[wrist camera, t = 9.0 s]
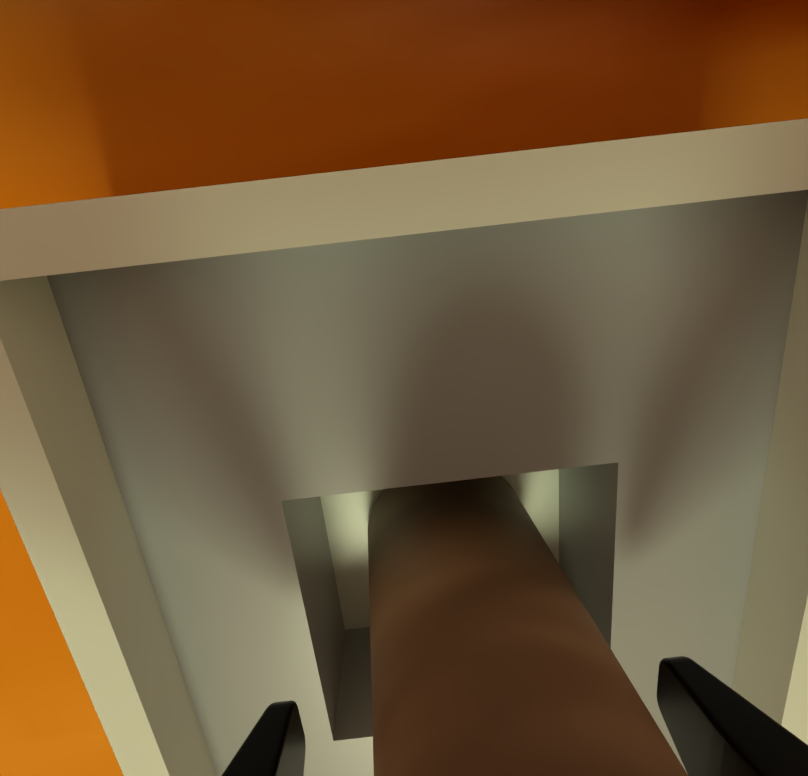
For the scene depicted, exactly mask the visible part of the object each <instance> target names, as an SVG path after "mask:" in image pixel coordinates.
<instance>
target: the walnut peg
mask: <svg viewBox="0 0 808 776" xmlns="http://www.w3.org/2000/svg"><path fill="white" fill-rule="evenodd" d="M368 567H369V606H370V645H371V685H372V724H373V764H374V776H688V774H687V773H686V771H685V770H684V768H683V766H682V765H681V763H680V761H679V760H678V758H677V756H676V755H675V753H674V752H673V750H672V748H671V747H670V745H669V743H668V742H667V740H666V738H665V737H664V735H663V734H662V732H661V730H660V729H659V727H658V725H657V724H656V722H655V720H654V719H653V717H652V716H651V714H650V712H649V711H648V709H647V707H646V706H645V704H644V702H643V701H642V699H641V698H640V696H639V694H638V693H637V691H636V689H635V688H634V686H633V684H632V683H631V681H630V680H629V678H628V676H627V675H626V673H625V671H624V670H623V668H622V666H621V665H620V663H619V662H618V660H617V658H616V657H615V655H614V653H613V652H612V650H611V648H610V647H609V645H608V644H607V642H606V640H605V639H604V637H603V635H602V634H601V632H600V630H599V629H598V627H597V626H596V624H595V622H594V621H593V619H592V617H591V616H590V614H589V612H588V611H587V609H586V608H585V606H584V604H583V603H582V601H581V599H580V598H579V596H578V594H577V593H576V591H575V590H574V588H573V586H572V585H571V583H570V581H569V580H568V578H567V576H566V575H565V573H564V572H563V570H562V568H561V567H560V565H559V563H558V562H557V560H556V559H555V557H554V555H553V554H552V552H551V550H550V549H549V547H548V545H547V544H546V542H545V541H544V539H543V537H542V536H541V534H540V532H539V531H538V529H537V527H536V526H535V524H534V523H533V521H532V519H531V518H530V516H529V514H528V513H527V511H526V509H525V508H524V506H523V505H522V503H521V501H520V500H519V498H518V496H517V495H516V493H515V492H514V490H513V488H512V487H511V485H510V484H509V483H508V482H507V481H506V480H505V479H504V478H503V477H502V476H494V477H485V478H477V479H468V480H459V481H450V482H441V483H433V484H424V485H415V486H406V487H398V488H389V489H384V490H383V491H382V493H381V494H380V495H379V497H378V498H377V500H376V502H375V504H374V506H373V508H372V511H371V513H370V518H369V522H368Z"/></svg>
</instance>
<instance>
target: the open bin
mask: <svg viewBox="0 0 808 776" xmlns="http://www.w3.org/2000/svg"><path fill="white" fill-rule="evenodd" d="M494 476H502V477H503V478H504V479H505V480H506V481H507V482H508V483H509V484H510V485H511V487H512V488H513V490H514V492H515V493H516V495H517V496H518V498H519V500H520V501H521V503H522V505H523V506H524V508H525V509H526V511H527V513H528V514H529V516H530V518H531V519H532V521H533V523H534V524H535V526H536V527H537V529H538V531H539V532H540V534H541V536H542V537H543V539H544V541H545V542H546V544H547V545H548V547H549V549H550V550H551V552H552V554H553V555H554V557H555V559H556V560H557V562H558V563H559V565H560V567H561V568H562V570H563V572H564V573H565V575H566V576H567V578H568V580H569V581H570V583H571V585H572V586H573V588H574V590H575V591H576V593H577V594H578V596H579V598H580V599H581V601H582V603H583V604H584V606H585V608H586V609H587V611H588V612H589V614H590V616H591V617H592V619H593V621H594V622H595V624H596V626H597V627H598V629H599V630H600V632H601V634H602V635H603V637H604V639H605V640H606V642H607V644H608V645H609V647H610V648H611V650H612V652H613V653H614V655H615V657H616V658H617V660H618V662H619V663H620V665H621V666H622V668H623V670H624V671H625V673H626V675H627V676H628V678H629V680H630V681H631V683H632V684H633V686H634V688H635V689H636V691H637V693H638V694H639V696H640V698H641V699H642V701H643V702H644V704H645V706H646V707H647V709H648V711H649V712H650V714H651V716H652V717H653V719H654V720H655V722H656V724H657V725H658V727H659V729H660V730H661V732H662V734H663V735H664V737H665V738H666V740H667V742H668V743H669V745H670V747H671V748H672V750H673V752H674V753H675V755H676V756H677V758H678V760H679V761H680V763H681V765H682V766H683V768H684V770H685V767H684V765H683V763H682V761H681V758H680V756H679V754H678V751H677V749H676V747H675V744H674V742H673V740H672V738H671V735H670V733H669V731H668V728H667V726H666V724H665V721H664V719H663V717H662V715H661V712H660V709H659V706H658V702H657V682H658V670H659V663H660V661H661V660H662V659H663V658H669V657H678V656H685V657H688V658H690V659H692V660H693V661H695V662H696V663H698V664H699V665H700V666H702V667H703V668H704V669H706V670H707V671H708V672H710V673H711V674H712V675H714V676H715V677H717V678H718V679H719V680H721V681H722V682H723V683H725V684H726V685H727V686H729V687H730V688H731V689H733V690H734V691H736V692H737V693H738V694H740V695H741V696H742V697H744V698H745V699H746V700H748V701H749V702H750V703H752V704H753V705H755V706H756V707H757V708H759V709H760V710H761V711H763V712H764V713H765V714H767V715H768V716H769V717H771V718H772V719H773V720H775V721H776V722H778V723H779V724H780V725H782V726H783V727H784V728H786V729H787V730H788V731H790V732H791V733H792V734H794V735H795V736H797V737H798V738H799V739H801V740H802V741H803V742H805V743H806V744H807V745H808V118H807V119H798V120H789V121H780V122H771V123H762V124H753V125H744V126H736V127H727V128H718V129H709V130H700V131H691V132H682V133H673V134H665V135H656V136H647V137H638V138H629V139H620V140H611V141H602V142H593V143H585V144H576V145H567V146H558V147H549V148H540V149H531V150H522V151H514V152H505V153H496V154H487V155H478V156H469V157H460V158H451V159H443V160H434V161H425V162H416V163H407V164H398V165H389V166H380V167H371V168H363V169H354V170H345V171H336V172H327V173H318V174H309V175H300V176H292V177H283V178H274V179H265V180H256V181H247V182H238V183H229V184H221V185H212V186H203V187H194V188H185V189H176V190H167V191H158V192H149V193H141V194H132V195H123V196H114V197H105V198H96V199H87V200H78V201H70V202H61V203H52V204H43V205H34V206H25V207H16V208H7V209H0V489H1V492H2V494H3V496H4V499H5V501H6V503H7V505H8V508H9V510H10V512H11V515H12V517H13V519H14V522H15V524H16V526H17V529H18V531H19V533H20V536H21V538H22V540H23V543H24V545H25V547H26V550H27V552H28V554H29V557H30V559H31V561H32V563H33V566H34V568H35V570H36V573H37V575H38V577H39V580H40V582H41V584H42V587H43V589H44V591H45V594H46V596H47V598H48V601H49V603H50V605H51V608H52V610H53V612H54V615H55V617H56V619H57V621H58V624H59V626H60V628H61V631H62V633H63V635H64V638H65V640H66V642H67V645H68V647H69V649H70V652H71V654H72V656H73V659H74V661H75V663H76V666H77V668H78V670H79V673H80V675H81V677H82V679H83V682H84V684H85V686H86V689H87V691H88V693H89V696H90V698H91V700H92V703H93V705H94V707H95V710H96V712H97V714H98V717H99V719H100V721H101V724H102V726H103V728H104V731H105V733H106V735H107V737H108V740H109V742H110V744H111V747H112V749H113V751H114V754H115V756H116V758H117V761H118V763H119V765H120V768H121V770H122V772H123V775H124V776H222V774H223V773H224V771H225V770H226V768H227V767H228V765H229V764H230V762H231V761H232V759H233V758H234V756H235V755H236V753H237V752H238V750H239V749H240V747H241V746H242V744H243V743H244V741H245V740H246V738H247V737H248V735H249V734H250V732H251V731H252V729H253V728H254V726H255V725H256V723H257V722H258V720H259V719H260V717H261V716H262V714H263V713H264V711H265V710H266V708H267V707H268V706H269V705H270V704H272V703H274V702H281V701H290V700H292V701H295V702H296V703H297V706H298V709H299V713H300V717H301V722H302V726H303V730H304V734H305V743H306V751H305V764H304V776H374V764H373V724H372V685H371V645H370V606H369V567H368V522H369V518H370V513H371V511H372V508H373V506H374V504H375V502H376V500H377V498H378V497H379V495H380V494H381V493H382V491H383V490H384V489H389V488H398V487H406V486H415V485H424V484H433V483H441V482H450V481H459V480H468V479H477V478H485V477H494ZM685 771H686V770H685ZM686 773H687V772H686Z"/></svg>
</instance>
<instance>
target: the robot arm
mask: <svg viewBox="0 0 808 776" xmlns="http://www.w3.org/2000/svg"><path fill="white" fill-rule="evenodd" d="M657 702H658V706H659V709H660V712H661V715H662V717H663V719H664V721H665V724H666V726H667V728H668V731H669V733H670V735H671V738H672V740H673V742H674V744H675V747H676V749H677V751H678V754H679V756H680V758H681V761H682V763H683V765H684V767H685V770H686V772H687V774H688V776H808V745H807V744H806V743H805V742H803V741H802V740H801V739H799V738H798V737H797V736H795V735H794V734H792V733H791V732H790V731H788V730H787V729H786V728H784V727H783V726H782V725H780V724H779V723H778V722H776V721H775V720H773V719H772V718H771V717H769V716H768V715H767V714H765V713H764V712H763V711H761V710H760V709H759V708H757V707H756V706H755V705H753V704H752V703H750V702H749V701H748V700H746V699H745V698H744V697H742V696H741V695H740V694H738V693H737V692H736V691H734V690H733V689H731V688H730V687H729V686H727V685H726V684H725V683H723V682H722V681H721V680H719V679H718V678H717V677H715V676H714V675H712V674H711V673H710V672H708V671H707V670H706V669H704V668H703V667H702V666H700V665H699V664H698V663H696V662H695V661H693V660H692V659H690V658H688V657H685V656H678V657H669V658H663V659H662V660H661V661H660V663H659V670H658V682H657ZM305 751H306V743H305V734H304V730H303V726H302V722H301V717H300V713H299V709H298V706H297V703H296V702H295V701H292V700H290V701H281V702H274V703H272V704H270V705H269V706H268V707H267V708H266V710H265V711H264V713H263V714H262V716H261V717H260V719H259V720H258V722H257V723H256V725H255V726H254V728H253V729H252V731H251V732H250V734H249V735H248V737H247V738H246V740H245V741H244V743H243V744H242V746H241V747H240V749H239V750H238V752H237V753H236V755H235V756H234V758H233V759H232V761H231V762H230V764H229V765H228V767H227V768H226V770H225V771H224V773H223V774H222V776H304V764H305Z"/></svg>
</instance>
